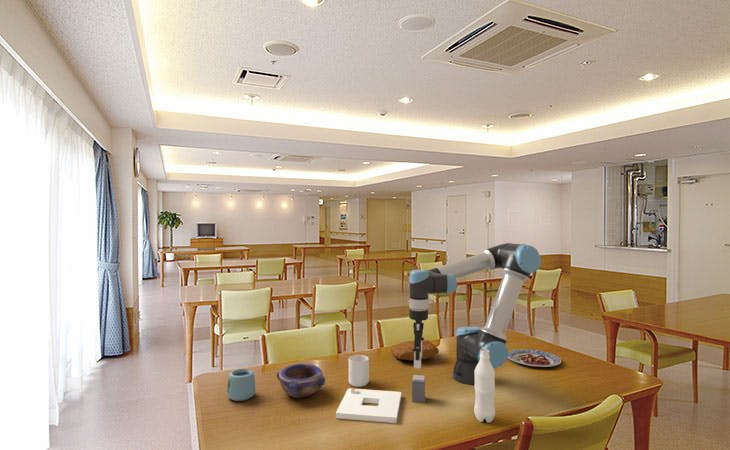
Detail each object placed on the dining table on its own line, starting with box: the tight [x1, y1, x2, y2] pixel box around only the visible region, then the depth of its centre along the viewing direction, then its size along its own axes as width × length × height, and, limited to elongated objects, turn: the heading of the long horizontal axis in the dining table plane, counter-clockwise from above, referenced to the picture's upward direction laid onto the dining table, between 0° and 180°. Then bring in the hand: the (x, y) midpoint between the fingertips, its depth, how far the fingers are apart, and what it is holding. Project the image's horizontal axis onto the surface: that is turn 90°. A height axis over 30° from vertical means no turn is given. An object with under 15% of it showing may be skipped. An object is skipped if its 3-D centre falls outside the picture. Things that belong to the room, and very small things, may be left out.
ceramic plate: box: [507, 348, 562, 368], centre depth 210 cm, size 26×26×3 cm
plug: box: [411, 374, 426, 403], centre depth 165 cm, size 5×5×9 cm
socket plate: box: [335, 388, 402, 424], centre depth 158 cm, size 22×22×3 cm
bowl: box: [276, 362, 326, 399], centre depth 170 cm, size 18×18×10 cm
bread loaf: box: [390, 339, 440, 361], centre depth 213 cm, size 22×17×8 cm
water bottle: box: [473, 349, 496, 424], centre depth 148 cm, size 7×7×25 cm
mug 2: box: [348, 354, 370, 388], centre depth 182 cm, size 12×9×11 cm
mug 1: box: [226, 368, 257, 402], centre depth 169 cm, size 15×11×10 cm
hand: (418, 362), depth 165 cm, fingers open, 13 cm apart
